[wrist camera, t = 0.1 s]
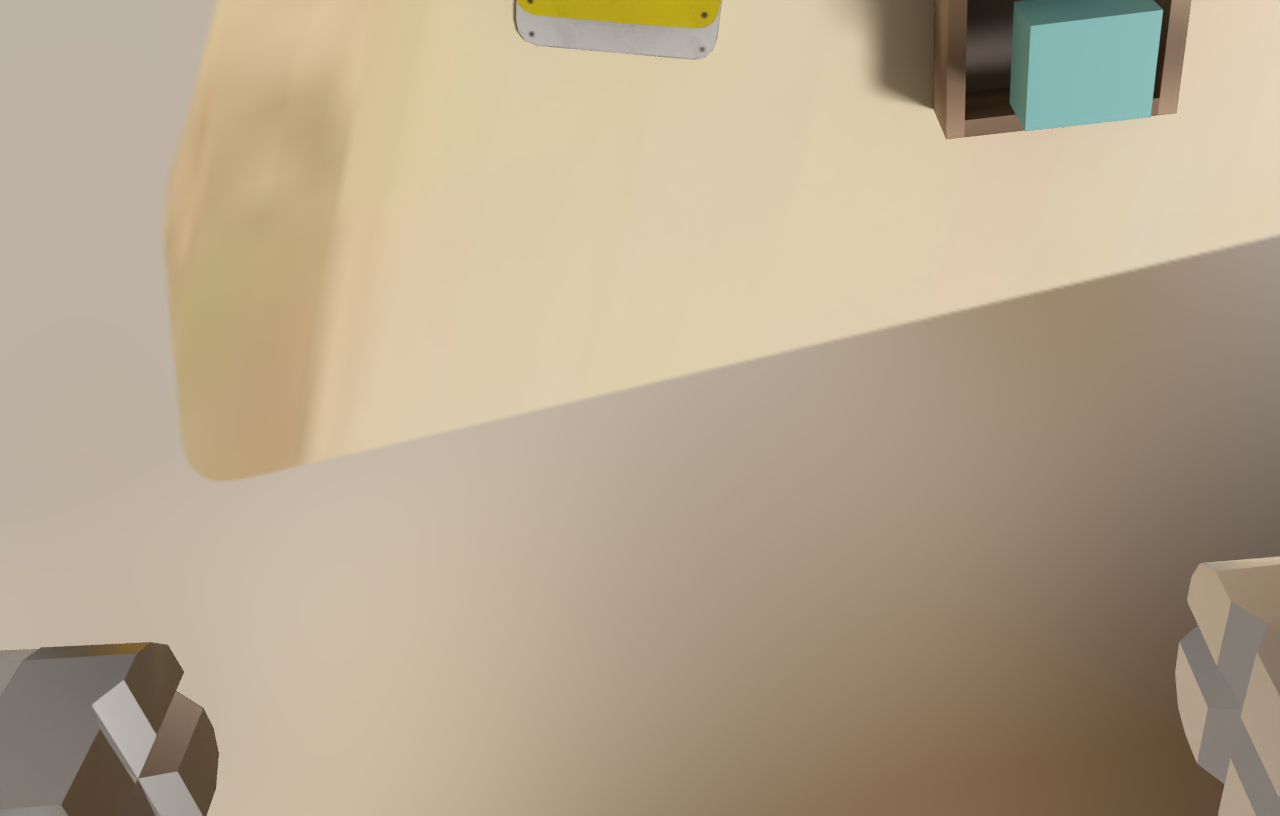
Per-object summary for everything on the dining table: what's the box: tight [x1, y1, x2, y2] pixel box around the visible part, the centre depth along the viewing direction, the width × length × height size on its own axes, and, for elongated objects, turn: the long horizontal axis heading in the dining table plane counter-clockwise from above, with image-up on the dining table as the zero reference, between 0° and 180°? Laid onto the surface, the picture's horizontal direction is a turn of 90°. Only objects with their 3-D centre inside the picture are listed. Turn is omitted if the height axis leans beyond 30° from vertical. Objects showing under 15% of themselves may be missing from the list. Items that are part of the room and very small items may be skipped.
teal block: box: [1010, 0, 1163, 131], centre depth 49 cm, size 4×5×4 cm
